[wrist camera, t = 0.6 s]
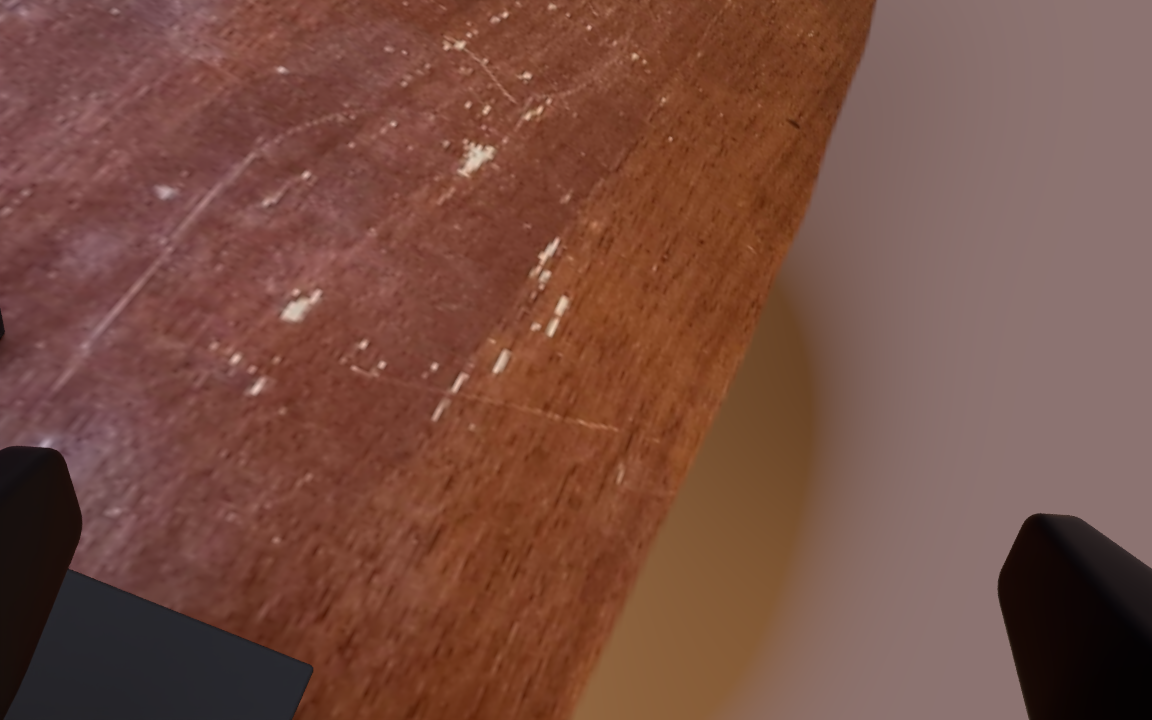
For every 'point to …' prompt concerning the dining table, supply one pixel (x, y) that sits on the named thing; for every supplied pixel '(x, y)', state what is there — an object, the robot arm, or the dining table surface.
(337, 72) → the dining table surface
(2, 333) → the big pad
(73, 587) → the small pad
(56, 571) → the robot arm
